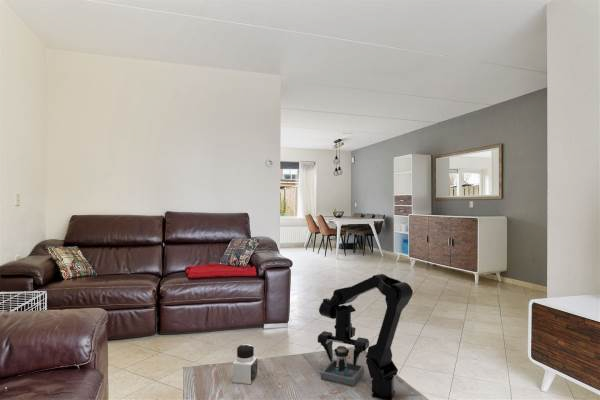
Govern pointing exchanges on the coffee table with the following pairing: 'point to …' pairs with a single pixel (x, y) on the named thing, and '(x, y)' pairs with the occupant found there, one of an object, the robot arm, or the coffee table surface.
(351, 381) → the charcoal tray
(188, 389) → the coffee table surface
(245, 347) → the medicine bottle
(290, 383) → the coffee table surface
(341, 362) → the push button
